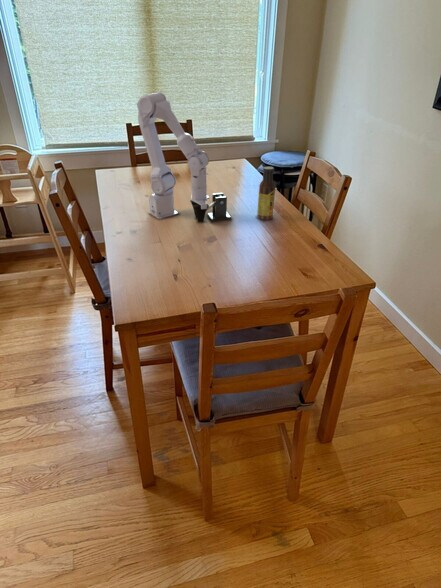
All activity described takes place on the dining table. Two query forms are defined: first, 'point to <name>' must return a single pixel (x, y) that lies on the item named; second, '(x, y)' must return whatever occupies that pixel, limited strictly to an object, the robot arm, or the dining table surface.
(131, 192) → the dining table surface
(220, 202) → the dark grey lever bracket
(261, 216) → the sauce bottle
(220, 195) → the tap lever
